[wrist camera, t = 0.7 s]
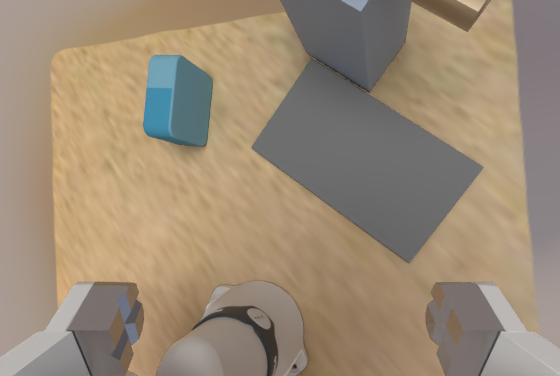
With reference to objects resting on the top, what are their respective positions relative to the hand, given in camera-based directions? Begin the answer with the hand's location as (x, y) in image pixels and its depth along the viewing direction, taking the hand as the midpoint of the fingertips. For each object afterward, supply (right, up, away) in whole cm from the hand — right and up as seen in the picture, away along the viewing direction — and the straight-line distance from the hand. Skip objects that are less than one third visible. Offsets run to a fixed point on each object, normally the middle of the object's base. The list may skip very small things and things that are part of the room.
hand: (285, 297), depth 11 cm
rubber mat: (+12, +8, +48) cm, 50 cm away
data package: (-14, +16, +55) cm, 59 cm away
